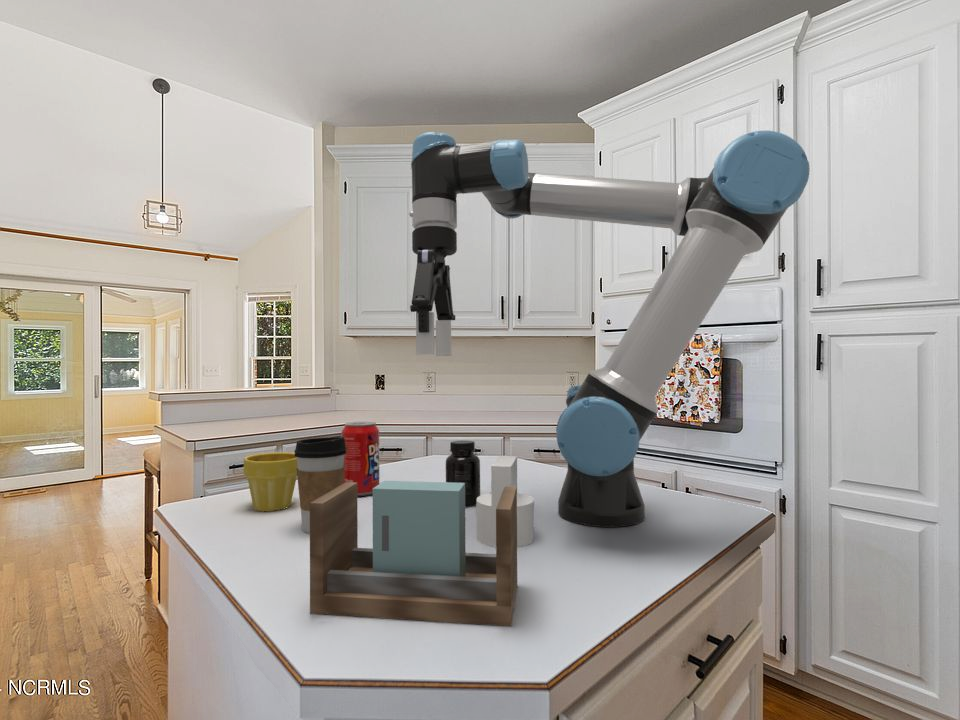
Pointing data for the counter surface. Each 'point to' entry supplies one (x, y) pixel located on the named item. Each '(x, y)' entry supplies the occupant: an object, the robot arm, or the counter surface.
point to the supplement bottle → (464, 469)
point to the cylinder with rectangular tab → (487, 503)
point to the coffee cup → (318, 470)
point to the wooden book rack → (361, 592)
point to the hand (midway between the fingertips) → (435, 355)
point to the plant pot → (271, 479)
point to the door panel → (419, 528)
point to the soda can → (361, 456)
